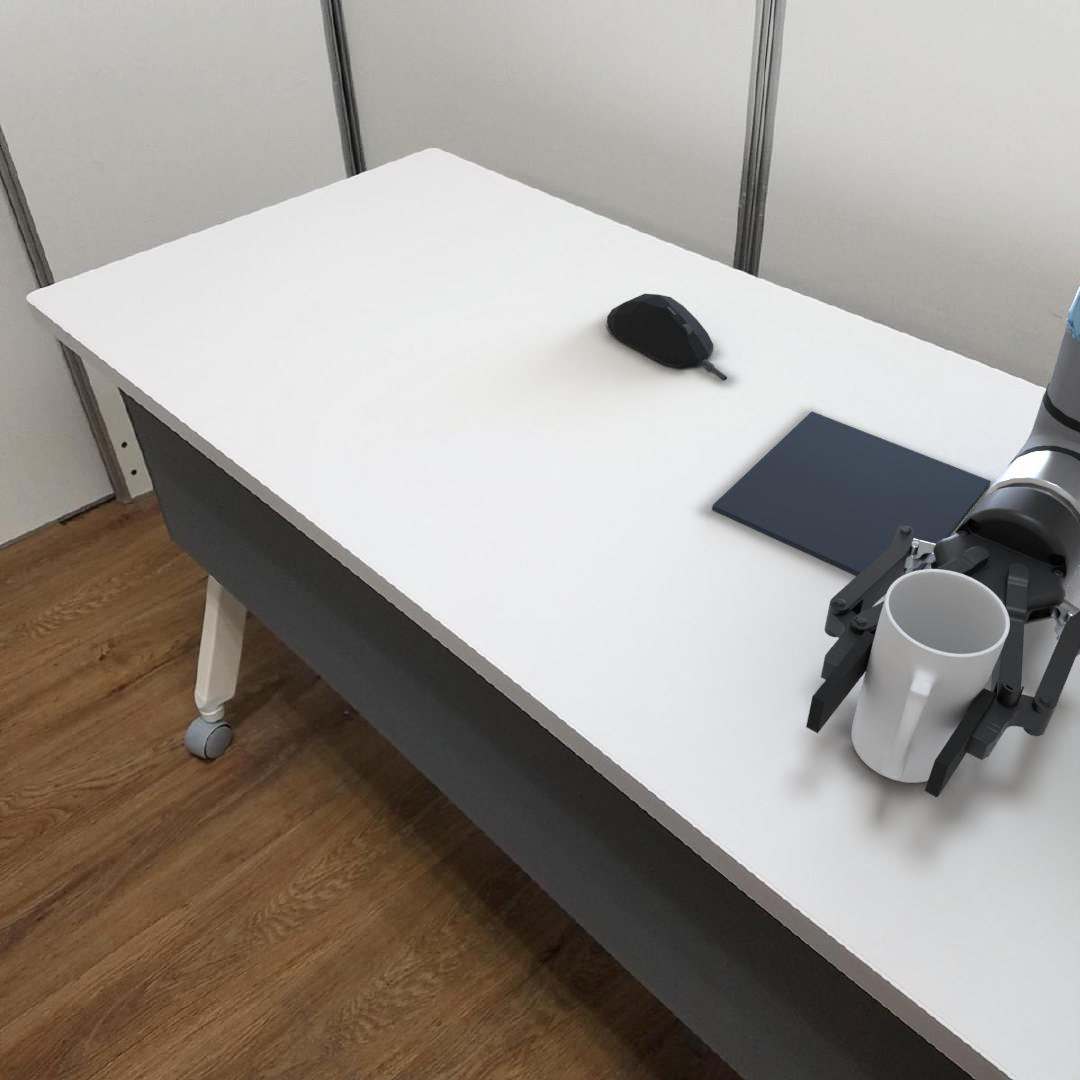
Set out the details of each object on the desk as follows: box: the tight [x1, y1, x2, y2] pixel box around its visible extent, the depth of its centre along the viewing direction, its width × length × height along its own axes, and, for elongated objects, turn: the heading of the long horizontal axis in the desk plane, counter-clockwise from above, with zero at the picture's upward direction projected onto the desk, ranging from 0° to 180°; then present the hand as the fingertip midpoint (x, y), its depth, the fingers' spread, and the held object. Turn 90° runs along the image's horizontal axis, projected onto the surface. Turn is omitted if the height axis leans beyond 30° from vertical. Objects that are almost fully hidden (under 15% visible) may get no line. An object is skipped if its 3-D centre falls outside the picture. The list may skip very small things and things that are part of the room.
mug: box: [851, 568, 1010, 784], centre depth 66 cm, size 10×7×12 cm, turn 153°
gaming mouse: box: [606, 293, 728, 381], centre depth 106 cm, size 6×15×4 cm, turn 38°
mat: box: [711, 411, 992, 577], centre depth 90 cm, size 16×16×1 cm
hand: (874, 746), depth 63 cm, fingers closed on mug, 7 cm apart
